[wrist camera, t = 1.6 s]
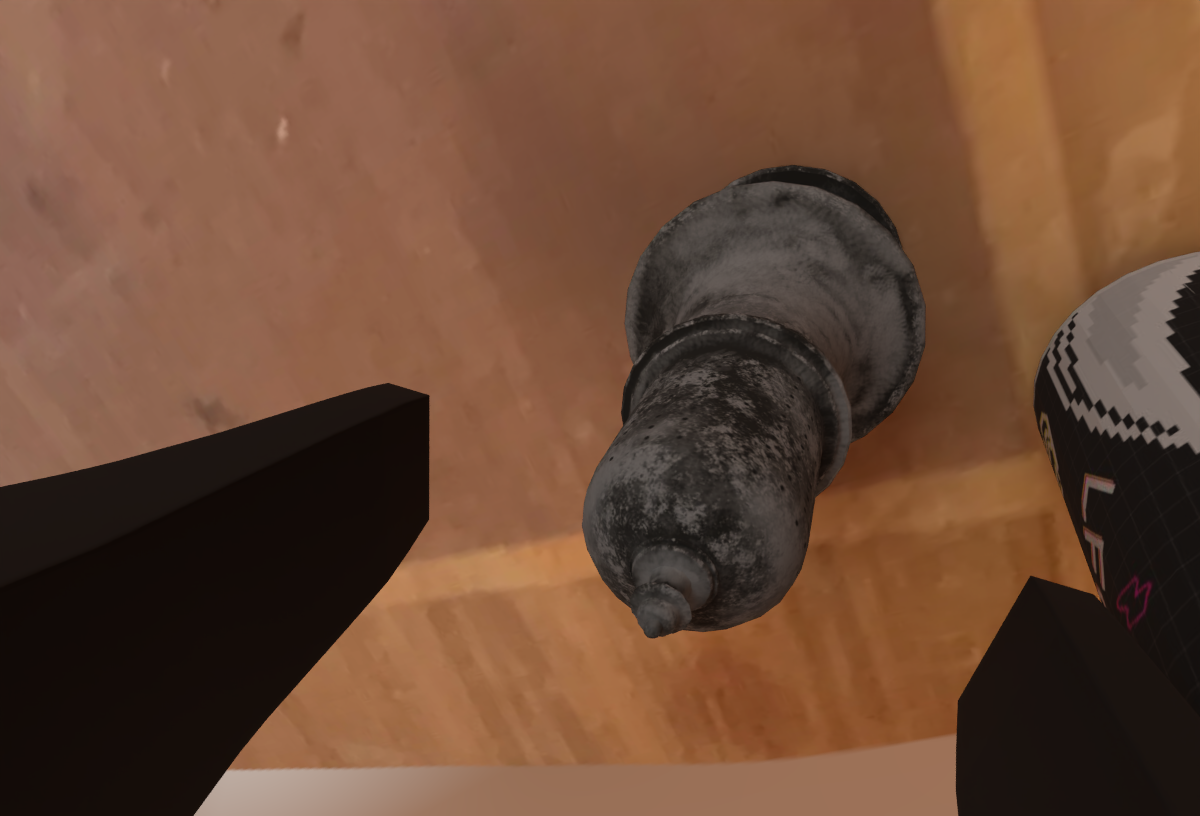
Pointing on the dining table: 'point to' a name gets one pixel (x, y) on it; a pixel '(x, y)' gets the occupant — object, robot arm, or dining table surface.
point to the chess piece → (747, 392)
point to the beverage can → (1134, 453)
